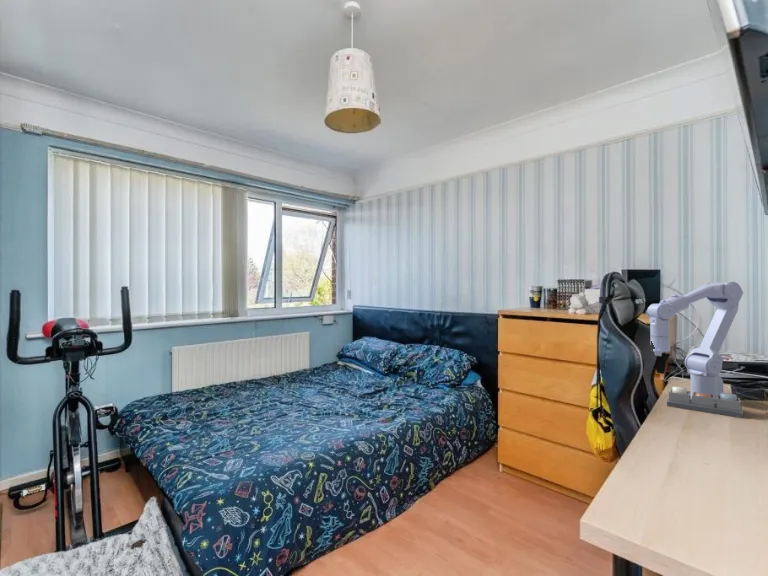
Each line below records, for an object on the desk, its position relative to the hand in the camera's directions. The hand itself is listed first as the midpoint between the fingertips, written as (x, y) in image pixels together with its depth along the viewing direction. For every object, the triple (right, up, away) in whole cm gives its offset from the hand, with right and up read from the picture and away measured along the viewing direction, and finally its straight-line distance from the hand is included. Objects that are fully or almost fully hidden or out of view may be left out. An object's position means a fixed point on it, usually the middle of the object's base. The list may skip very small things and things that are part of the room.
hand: (660, 373), depth 136 cm
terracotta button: (+6, -7, -12) cm, 15 cm away
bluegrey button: (+10, -6, -16) cm, 20 cm away
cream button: (+1, -7, -7) cm, 10 cm away
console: (+6, -9, -12) cm, 16 cm away
